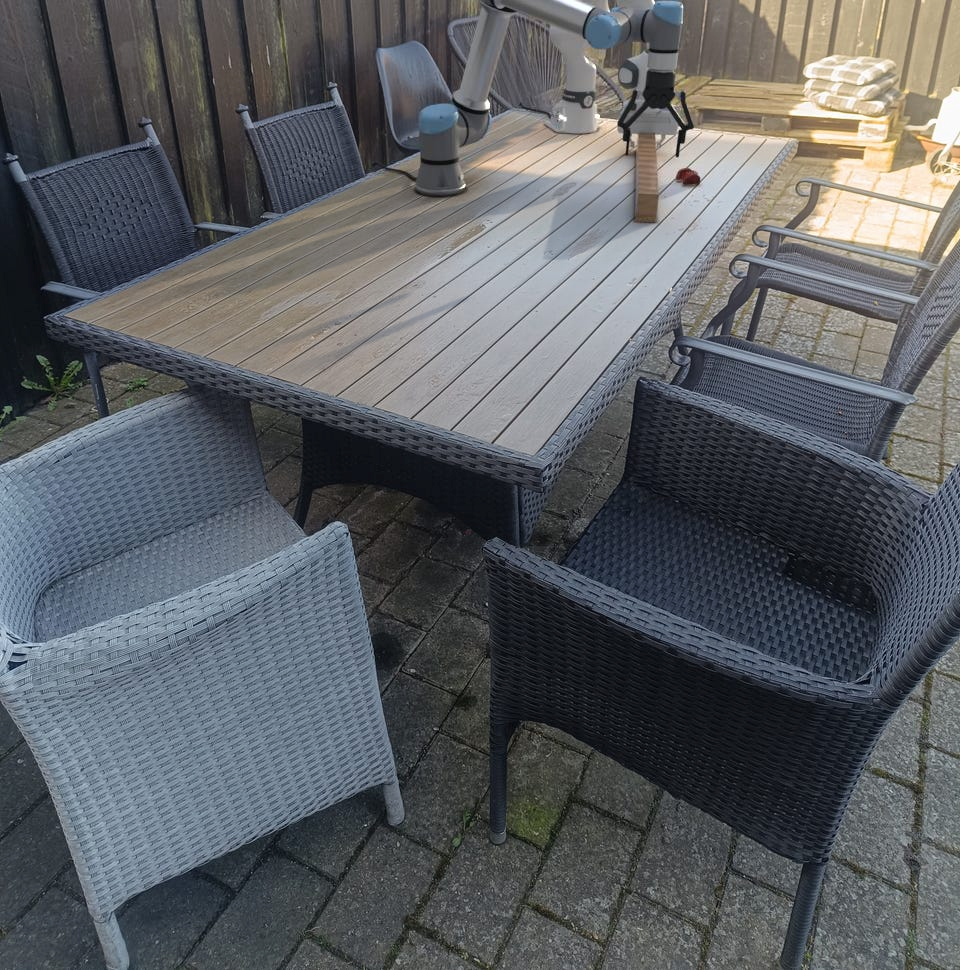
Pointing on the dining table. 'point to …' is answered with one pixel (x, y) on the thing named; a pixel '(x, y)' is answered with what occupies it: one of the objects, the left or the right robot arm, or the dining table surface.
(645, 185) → the beam
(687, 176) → the dark red lumpy piece
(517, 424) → the dining table surface
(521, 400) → the dining table surface
